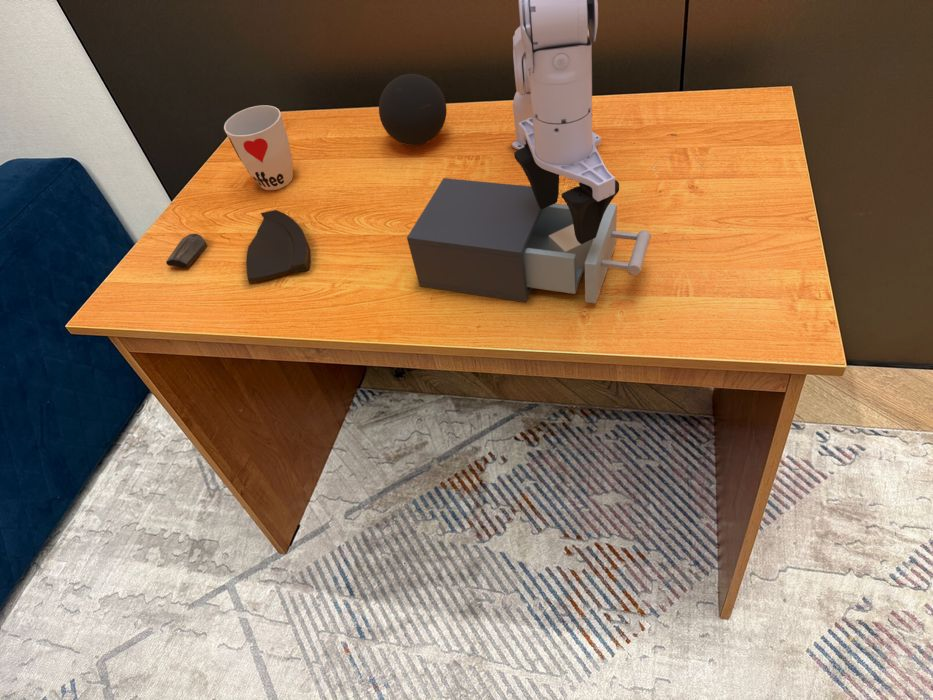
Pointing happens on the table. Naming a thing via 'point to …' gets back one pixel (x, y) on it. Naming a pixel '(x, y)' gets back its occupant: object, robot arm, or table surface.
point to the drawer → (561, 267)
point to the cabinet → (475, 238)
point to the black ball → (412, 109)
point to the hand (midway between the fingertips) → (566, 221)
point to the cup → (262, 145)
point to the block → (187, 251)
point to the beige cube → (569, 245)
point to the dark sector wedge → (277, 248)
